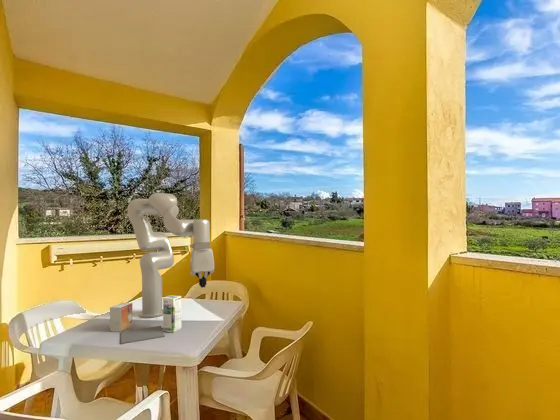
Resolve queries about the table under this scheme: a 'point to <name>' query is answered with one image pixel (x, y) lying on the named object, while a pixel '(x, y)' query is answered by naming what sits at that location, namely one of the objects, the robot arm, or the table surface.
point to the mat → (141, 334)
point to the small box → (120, 317)
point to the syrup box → (171, 313)
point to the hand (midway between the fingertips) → (202, 286)
